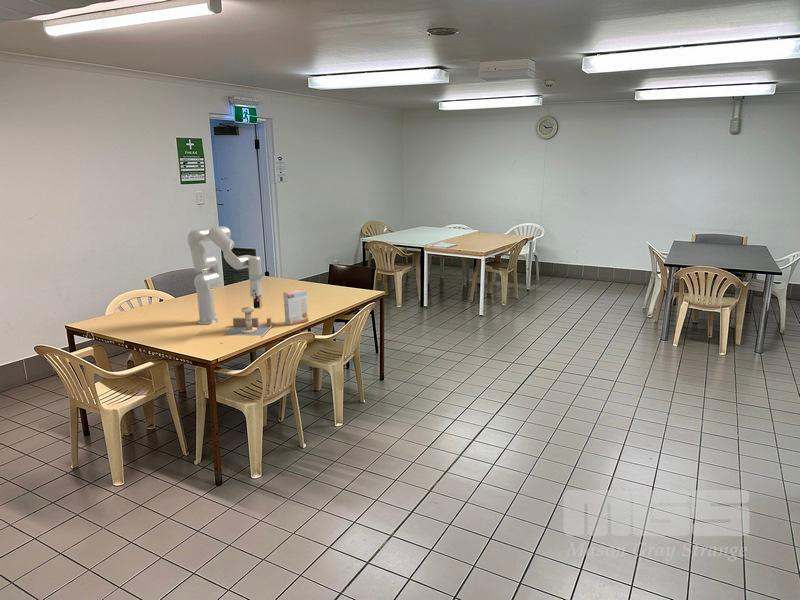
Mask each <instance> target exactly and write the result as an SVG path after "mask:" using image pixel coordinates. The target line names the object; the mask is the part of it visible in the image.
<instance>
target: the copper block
mask: <svg viewBox="0 0 800 600" xmlns="http://www.w3.org/2000/svg"><path fill="white" fill-rule="evenodd" d="M256 298H257V297H256ZM252 301H253V300H252ZM258 301H259V308H254V307H253V308H254V310H255V309H257V310H258V309H262V308H263V298H262V295H261V296H258ZM252 303H253V305H254V301H253V302H252Z"/></svg>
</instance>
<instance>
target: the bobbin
mask: <svg viewBox="0 0 800 600" xmlns="http://www.w3.org/2000/svg"><path fill="white" fill-rule="evenodd" d="M254 311H255V309H254V306H251V307H250V306H247V307H243V308H241V312H242V313H244V318H245V321H246V328H243V329H242V330H241V331H242V333H246V334H248V333H255V332H257V328H255V327H252V318H253V316H252V312H254Z"/></svg>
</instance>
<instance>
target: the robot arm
mask: <svg viewBox="0 0 800 600" xmlns="http://www.w3.org/2000/svg"><path fill="white" fill-rule="evenodd" d="M231 237H232V233H231V229H230V228H228V227H227V226H225V225H221V226H212V227H211V226H209V227H202V228H195V229H192V230H191V231H190V232H189V233H188V235H187V243H188V246H189V249H190V252H191V253H190V254H191V259H192V264H193V268H194V270H195V271H196V272H200V274H198V275H196V276H195V277H194V280H193V283H194V284H193V285H194V287H195V290H196V297H197V307H198V308H197V309H198V316H199V317H198V319H197V324H198V325H211V324H212V323H218V322H219V320H218V318H217V317H216V315H217V313H216V312H215V302H214V301H215V300H214V299H215V298H214V293H213V291H212V290H211V288H212V287H215V286H219V284H220V283H221V280H222V278H221V271H220V265H219V261H218V259H217V257H216V256H215V255H213V254H207V252H206V248H205V247H204V245H203V244H202V243H205V242H212V243H214V244H215V245H216V246H217V247H218V248H219V249H221V251H222V253H223V257H224V260H225V262H226V263H227V264H228V265H230V267H232V268H233V269H235V270H242V269H248V277H249V278H248V279H249V281H250V282H249V295H250V297H251V298H252V301H254V304H253V308H259V301H258V296H262V294H263V271H262V270H263V268H262V259H261V257H260V256H258V255H249V254H245V255H240V256H237V255H236V254H234V252H233V251H232V250H233V248H234V247H235V242H234V240H233V239H231ZM205 271H206V272H205ZM201 272H203V273H201ZM256 297H257V298H256Z"/></svg>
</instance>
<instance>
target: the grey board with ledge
mask: <svg viewBox="0 0 800 600" xmlns="http://www.w3.org/2000/svg"><path fill="white" fill-rule="evenodd" d="M259 323H260V322H259V317H252V327H255V328H257V332H255V333H248V334H246V333H242V331H241V330H242V329H243V328H246V321H245V317H233V318H232V324H233V326H232V327H231V328H230V329H229V330H227V331H226V332H225V333H224V334H223V336H255V337H257V336H261V337H260V338H261V339H262V337H263V338H264V337H265V335H266V334H268V333H269V332H270V330H271V329H272V328H273V327H272V318H271V317H267V318H266V325H260V324H259Z"/></svg>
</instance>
